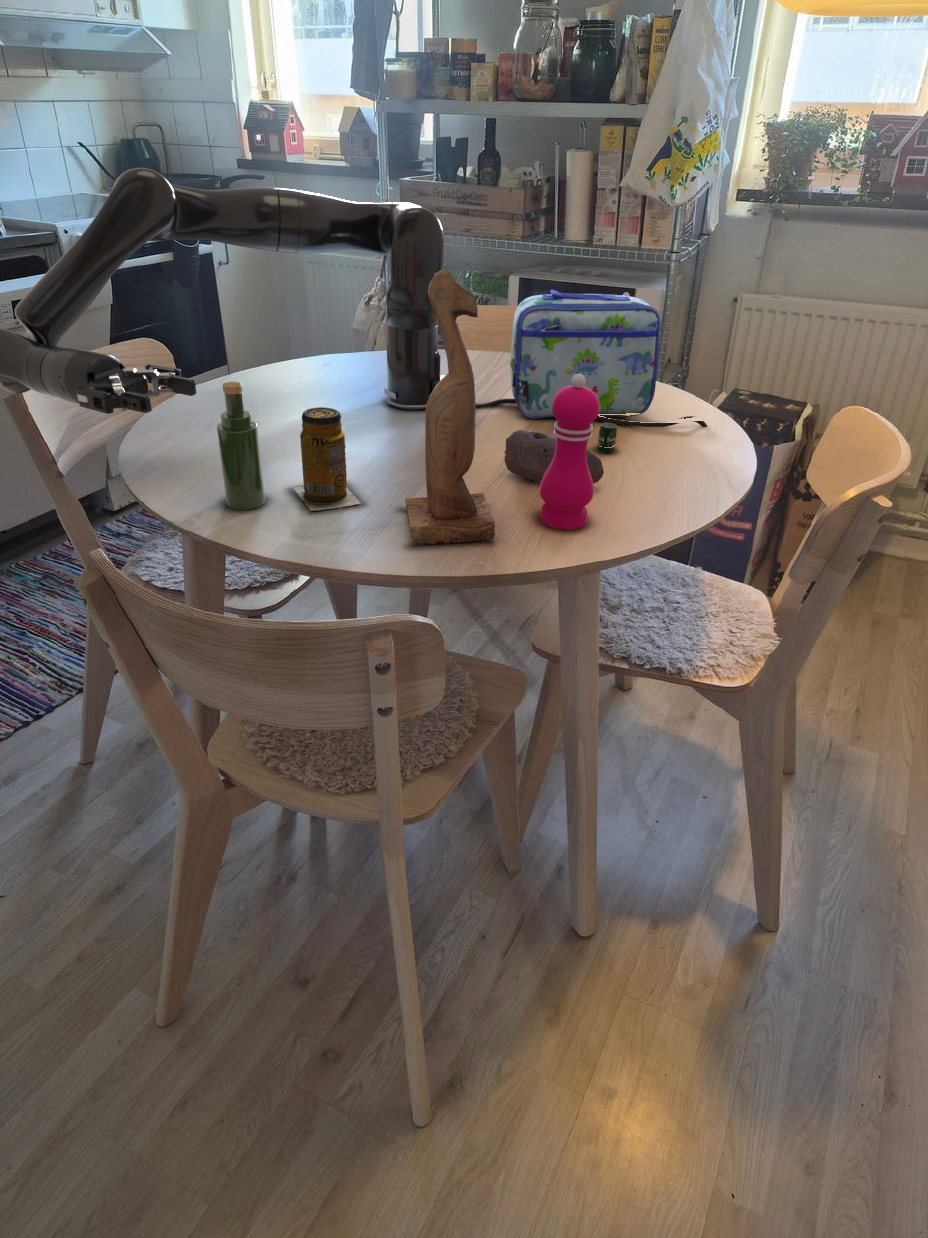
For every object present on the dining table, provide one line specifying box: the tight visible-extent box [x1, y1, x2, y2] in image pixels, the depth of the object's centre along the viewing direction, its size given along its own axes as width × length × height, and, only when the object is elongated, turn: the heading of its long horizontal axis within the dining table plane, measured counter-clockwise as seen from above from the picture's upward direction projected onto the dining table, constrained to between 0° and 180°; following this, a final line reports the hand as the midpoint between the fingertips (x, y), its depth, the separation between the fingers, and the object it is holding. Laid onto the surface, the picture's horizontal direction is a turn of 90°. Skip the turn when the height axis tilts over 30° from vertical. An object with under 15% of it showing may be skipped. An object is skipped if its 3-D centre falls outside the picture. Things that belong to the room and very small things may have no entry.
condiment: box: [293, 406, 361, 512], centre depth 113 cm, size 7×8×12 cm
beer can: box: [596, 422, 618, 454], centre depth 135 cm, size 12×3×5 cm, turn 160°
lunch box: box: [509, 289, 662, 419], centre depth 146 cm, size 26×11×21 cm, turn 92°
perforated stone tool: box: [503, 429, 605, 485], centre depth 122 cm, size 15×5×7 cm, turn 66°
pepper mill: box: [539, 374, 599, 531], centre depth 107 cm, size 7×7×20 cm
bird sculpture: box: [404, 268, 496, 547], centre depth 101 cm, size 11×12×32 cm
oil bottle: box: [216, 381, 266, 511], centre depth 110 cm, size 5×5×16 cm
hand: (172, 396), depth 111 cm, fingers open, 8 cm apart
